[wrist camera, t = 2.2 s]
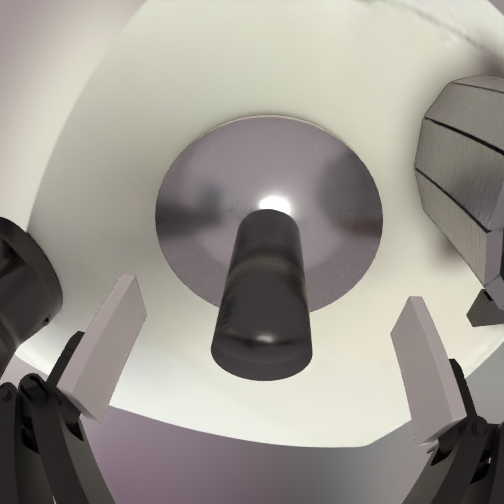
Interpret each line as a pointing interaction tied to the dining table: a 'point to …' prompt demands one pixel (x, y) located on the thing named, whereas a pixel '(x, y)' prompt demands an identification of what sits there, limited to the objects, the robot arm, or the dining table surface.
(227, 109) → the dining table surface
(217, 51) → the dining table surface
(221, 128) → the lid
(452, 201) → the pot
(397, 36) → the dining table surface
